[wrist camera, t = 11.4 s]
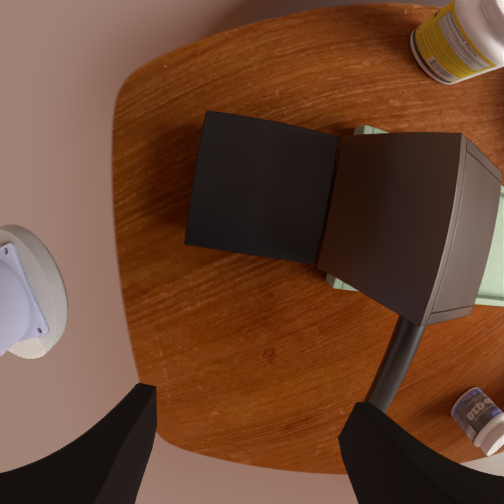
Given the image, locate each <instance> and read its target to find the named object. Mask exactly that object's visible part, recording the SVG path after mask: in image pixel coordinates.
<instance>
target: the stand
mask: <svg viewBox="0 0 504 504" xmlns="http://www.w3.org/2000/svg"><path fill="white" fill-rule="evenodd" d="M338 142H339V137H338V136H334V135H331V134H327V133H323V132H319V131H315V130H311V129H307V128H303V127H298V126H294V125H289V124H285V123H280V122H275V121H270V120H264V119H259V118H253V117H248V116H241V115H235V114H228V113H221V112H214V111H206V114H205V118H204V123H203V128H202V134H201V139H200V144H199V150H198V155H197V161H196V167H195V173H194V179H193V185H192V191H191V198H190V204H189V211H188V218H187V226H186V233H185V241H184V243H185V244H186V245H191V246H197V247H204V248H210V249H216V250H223V251H229V252H236V253H242V254H248V255H255V256H261V257H268V258H274V259H281V260H287V261H294V262H300V263H307V264H315V262H316V258H317V253H318V249H319V244H320V239H321V235H322V230H323V225H324V220H325V215H326V210H327V205H328V200H329V195H330V189H331V184H332V178H333V172H334V167H335V161H336V155H337V148H338Z"/></svg>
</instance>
